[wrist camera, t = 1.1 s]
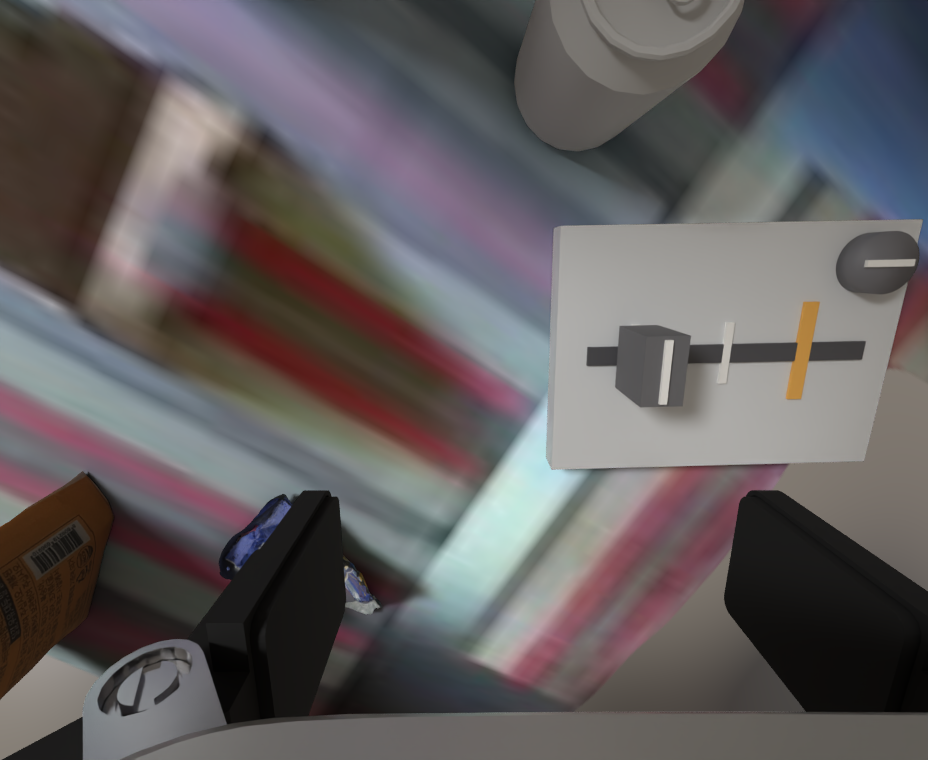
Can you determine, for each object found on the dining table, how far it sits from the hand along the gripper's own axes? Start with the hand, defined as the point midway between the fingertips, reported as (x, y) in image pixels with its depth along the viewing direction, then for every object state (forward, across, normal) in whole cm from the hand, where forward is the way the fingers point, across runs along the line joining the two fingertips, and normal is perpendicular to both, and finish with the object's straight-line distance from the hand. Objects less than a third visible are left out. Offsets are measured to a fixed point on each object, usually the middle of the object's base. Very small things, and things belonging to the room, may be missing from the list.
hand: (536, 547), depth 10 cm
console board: (+21, -15, -1) cm, 26 cm away
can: (+21, -5, -17) cm, 27 cm away
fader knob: (+19, -9, -1) cm, 21 cm away
